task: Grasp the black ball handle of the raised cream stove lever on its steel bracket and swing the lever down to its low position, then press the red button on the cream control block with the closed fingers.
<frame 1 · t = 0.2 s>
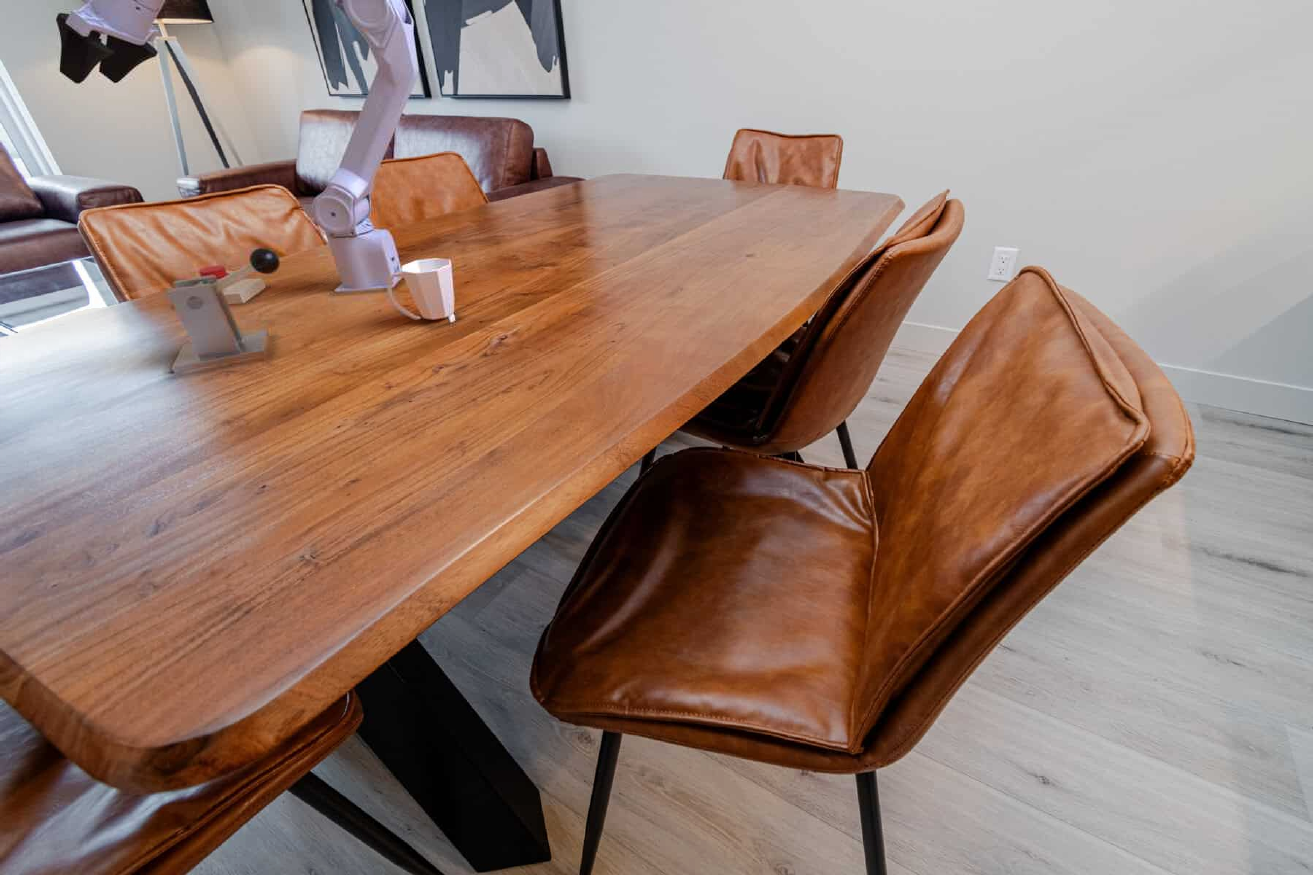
hand: (89, 77, 83), 32 cm above the table, tool tilted 50°, fingers open, 7 cm apart
lever: (232, 278, 75), point 10 cm above the table, hinge at 20.0°
bracket: (226, 355, 79), on the table
button: (213, 274, 98), point 4 cm above the table, slide at 0.1 cm
cup: (430, 322, 86), on the table
control block: (224, 297, 100), on the table
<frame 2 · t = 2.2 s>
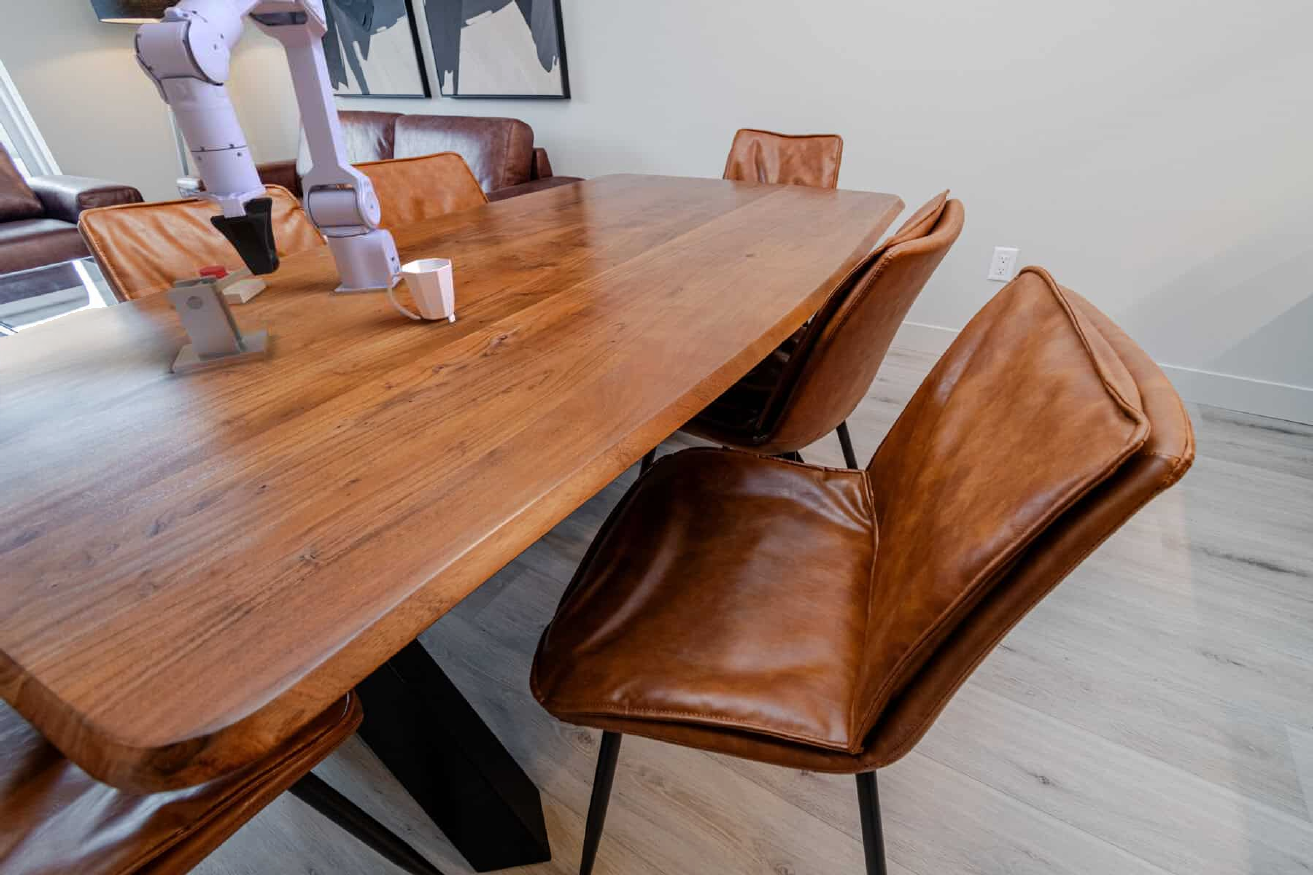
hand: (266, 266, 76), 10 cm above the table, tool pointing down, fingers open, 7 cm apart
nothing on the table moved.
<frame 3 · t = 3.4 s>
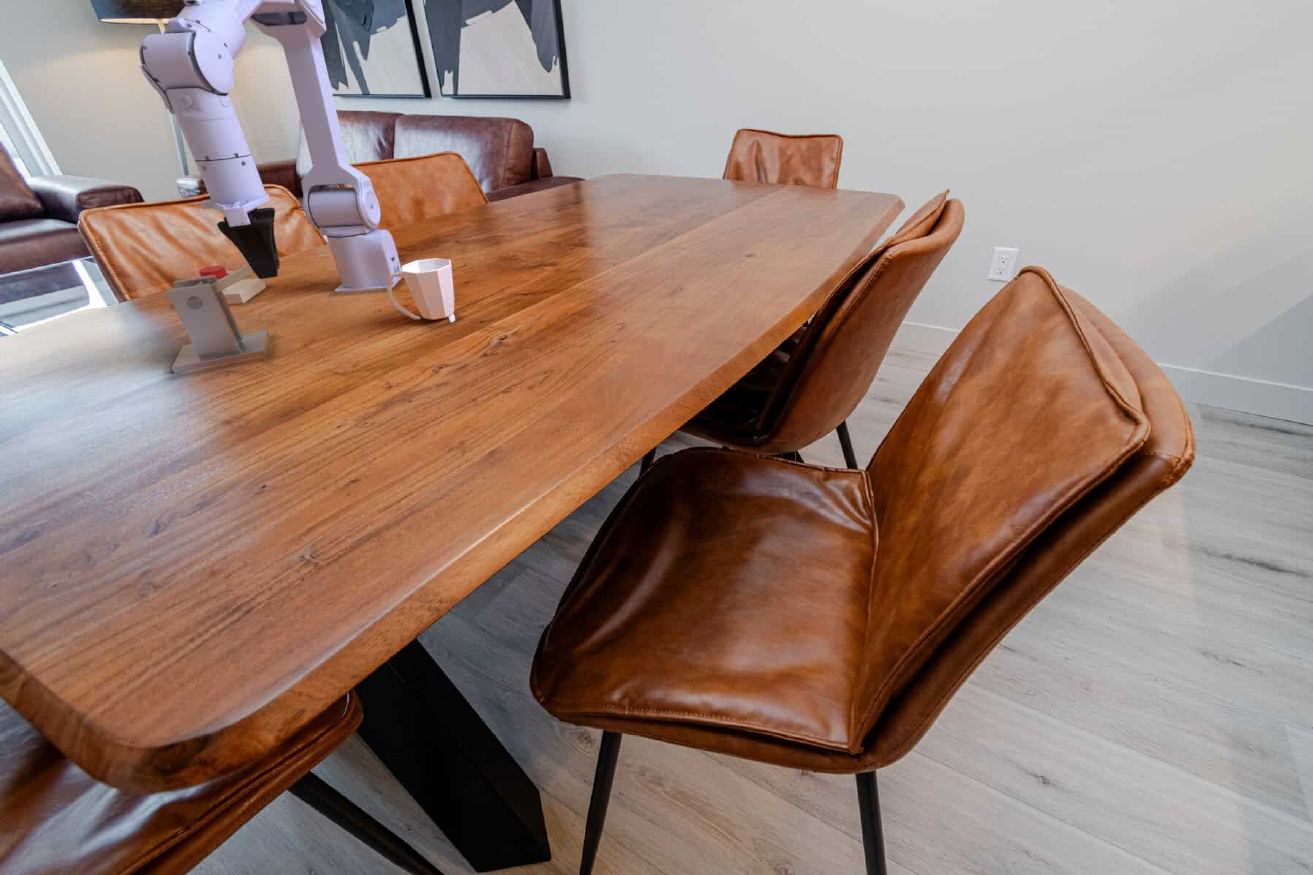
hand: (269, 273, 77), 9 cm above the table, tool pointing down, fingers closed on lever, 3 cm apart
lever: (232, 278, 75), point 10 cm above the table, hinge at 20.0°, touching gripper
everything else where it was.
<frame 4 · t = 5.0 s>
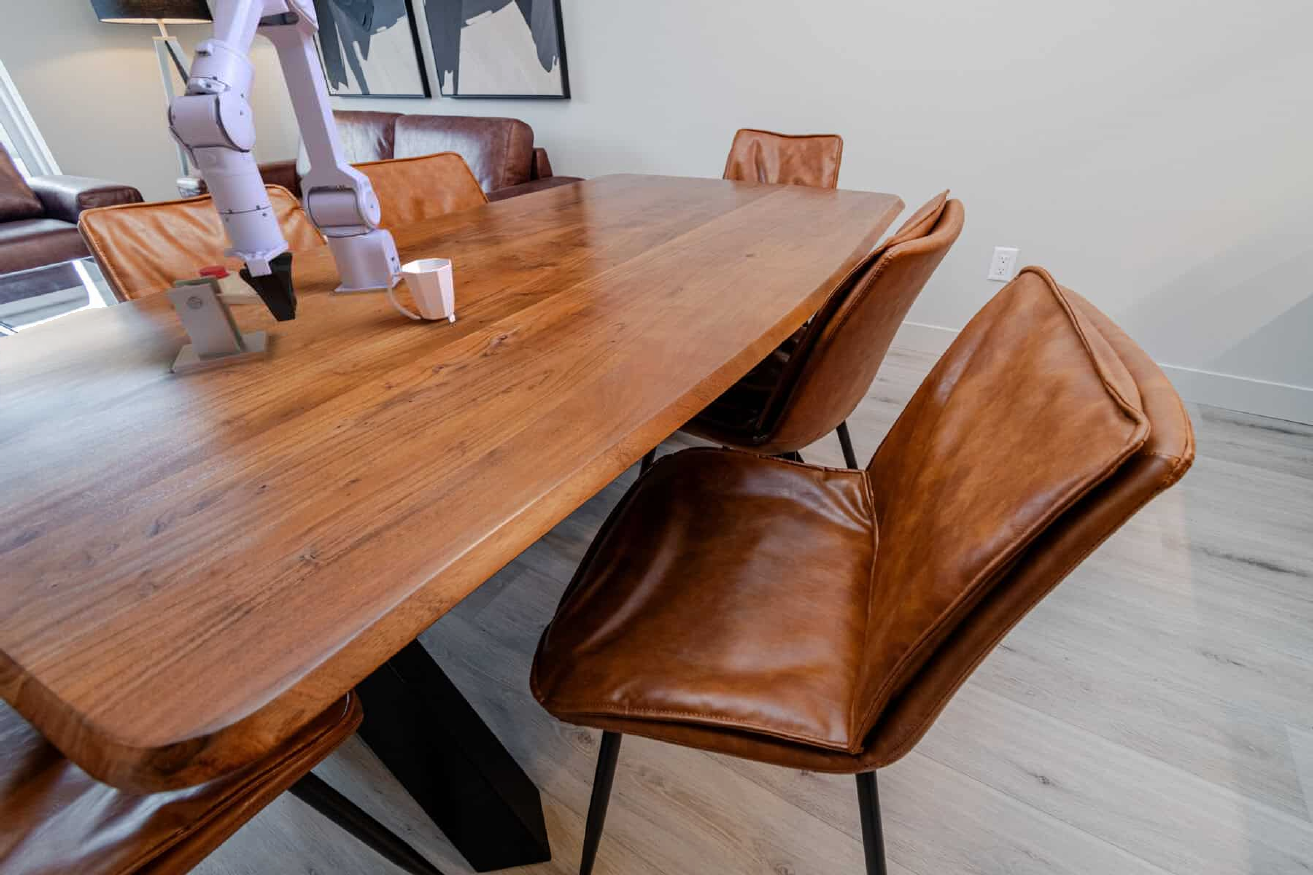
hand: (287, 315, 80), 4 cm above the table, tool pointing down, fingers closed on lever, 3 cm apart
lever: (242, 299, 77), point 7 cm above the table, hinge at -14.3°, touching gripper
everything else where it was.
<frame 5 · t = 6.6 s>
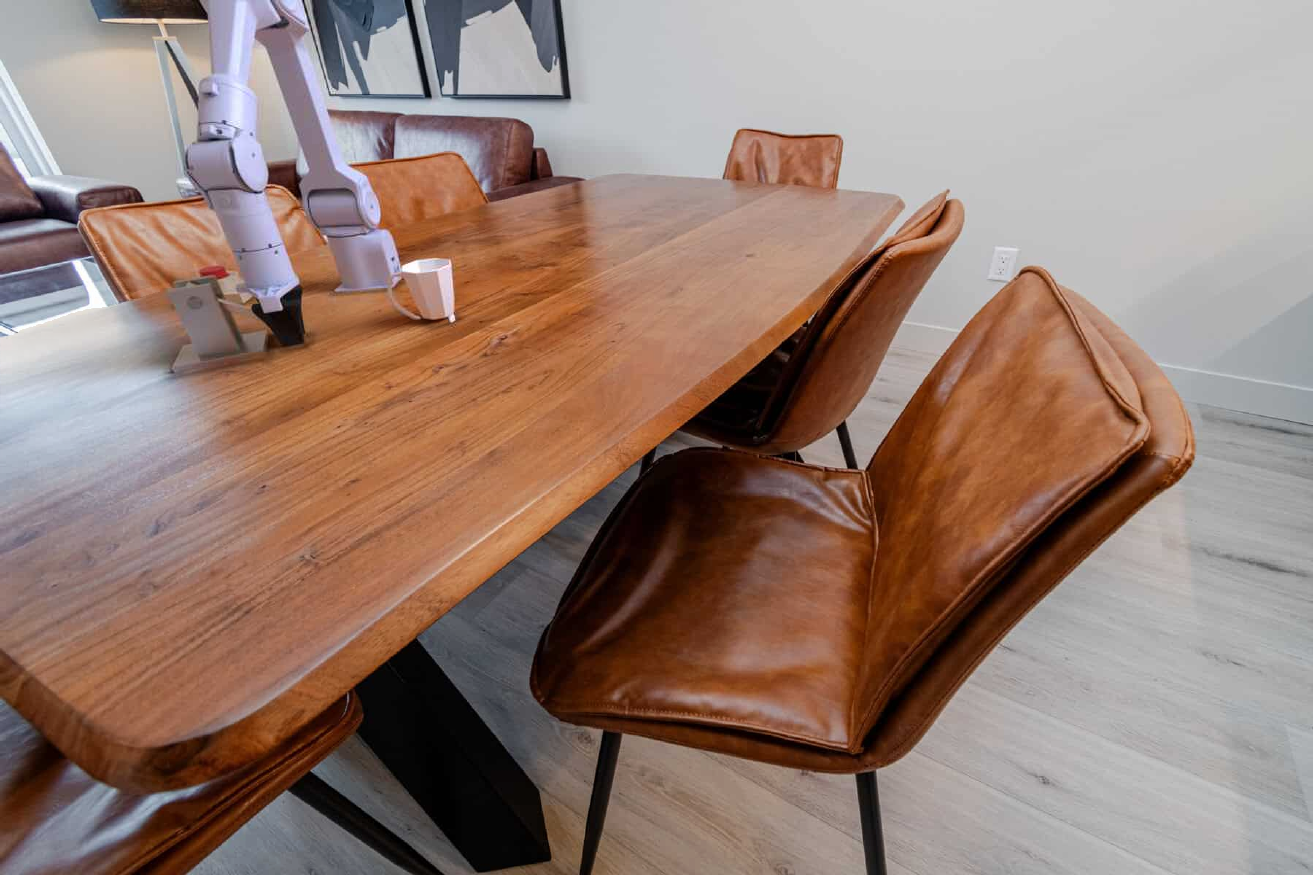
hand: (297, 346, 82), 0 cm above the table, tool pointing down, fingers closed on lever, 3 cm apart
lever: (242, 310, 77), point 6 cm above the table, hinge at -32.6°, touching gripper
everything else where it was.
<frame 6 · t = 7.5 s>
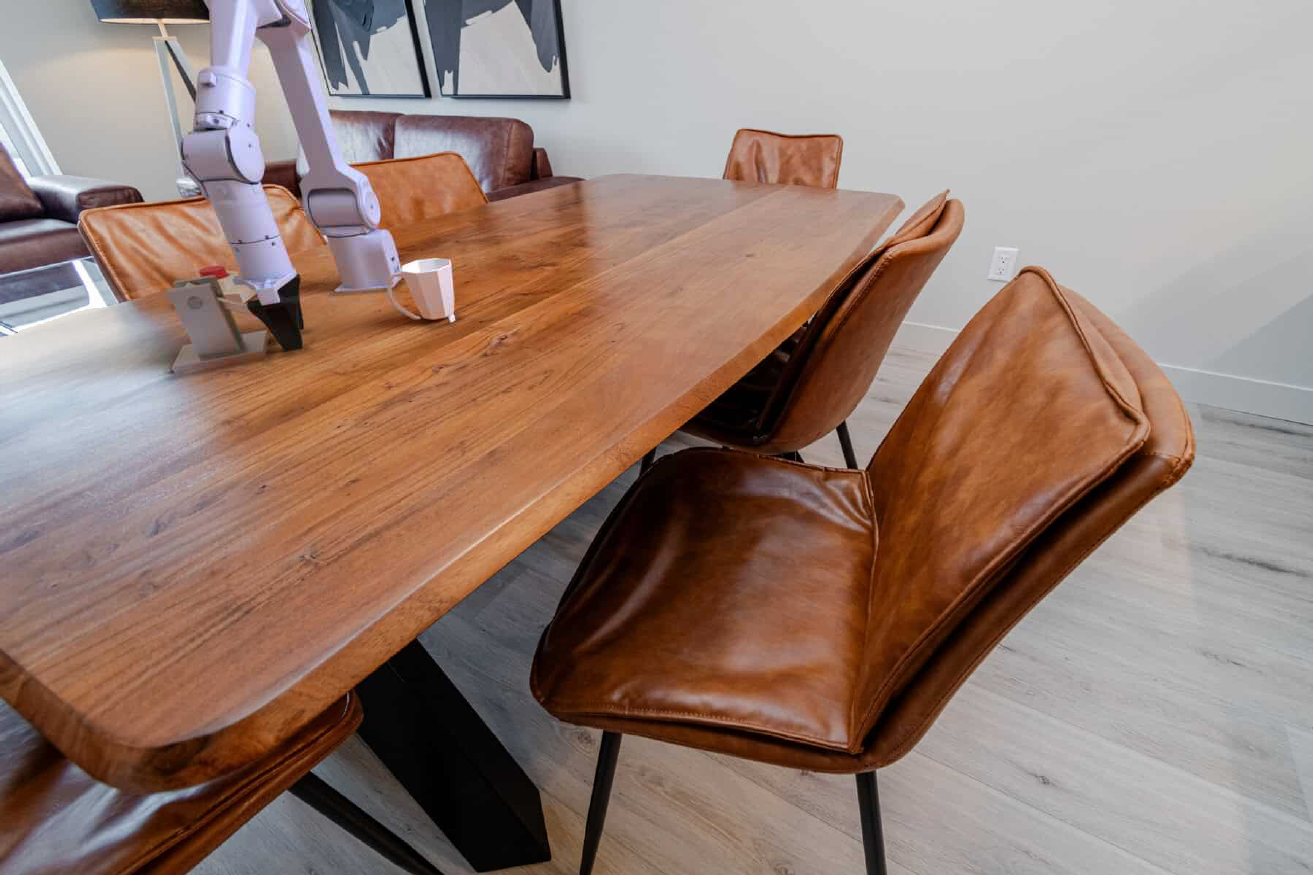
hand: (295, 339, 81), 0 cm above the table, tool pointing down, fingers open, 7 cm apart
lever: (242, 308, 77), point 6 cm above the table, hinge at -29.5°
everything else where it was.
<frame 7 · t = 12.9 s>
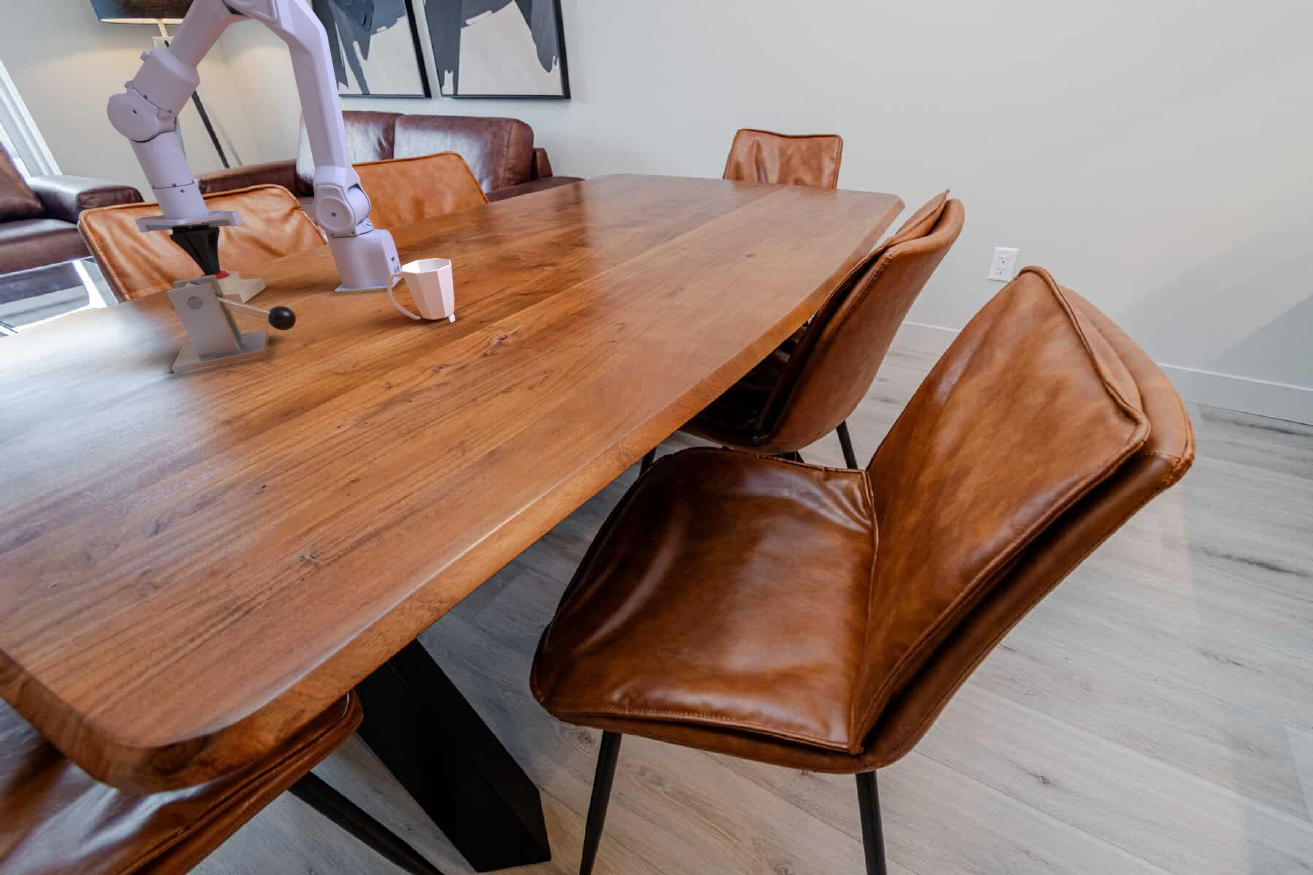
hand: (213, 273, 98), 4 cm above the table, tool pointing down, fingers closed, pressing on button
button: (216, 279, 98), point 3 cm above the table, slide at -0.7 cm, touching gripper
everything else where it was.
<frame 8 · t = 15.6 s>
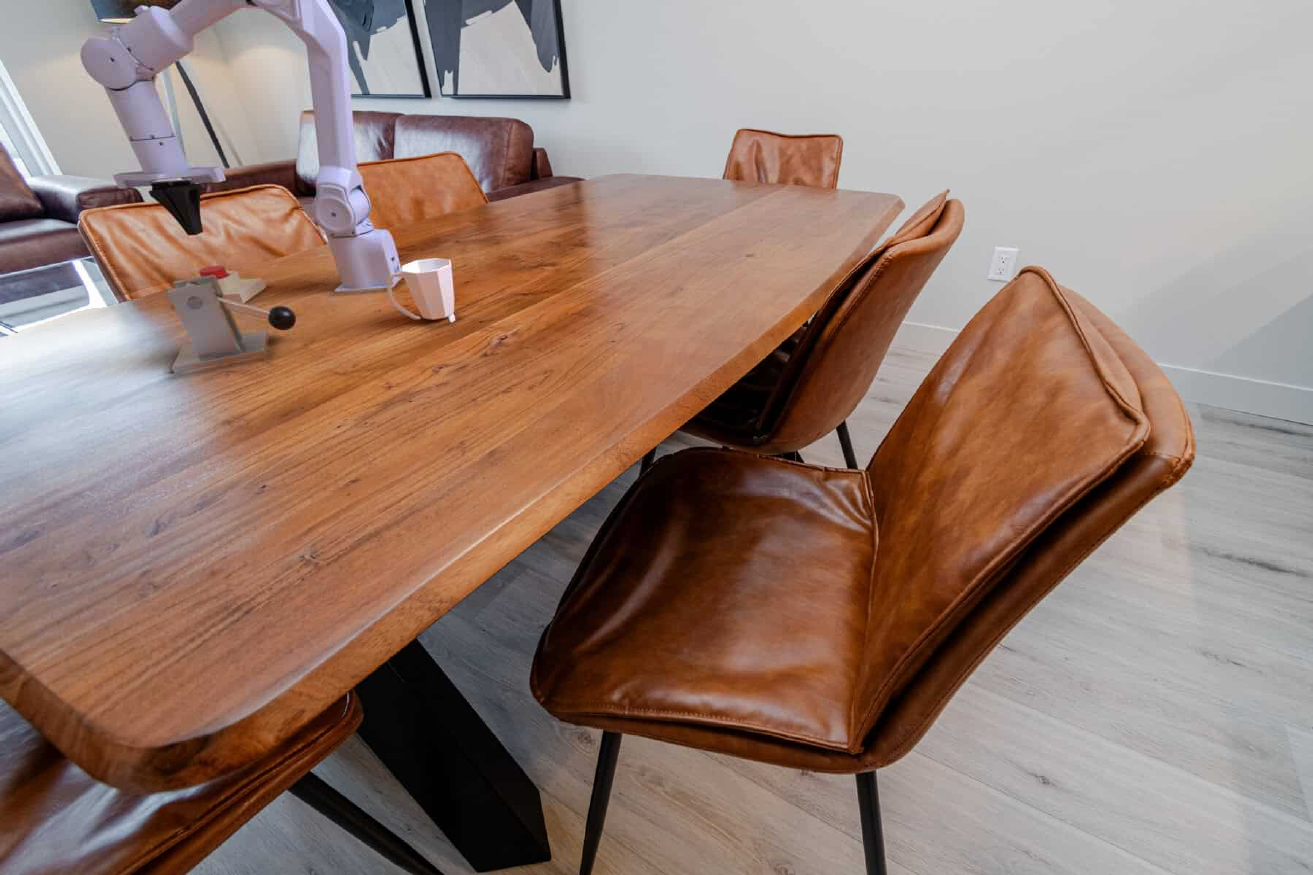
hand: (195, 233, 94), 10 cm above the table, tool pointing down, fingers closed
button: (213, 274, 98), point 4 cm above the table, slide at 0.1 cm
everything else where it was.
at the end: lever at -30° (first picture: +20°); button pushed in 1.2 cm at the most during the clip, back to where it started at the end; button slide at 0.1 cm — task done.
